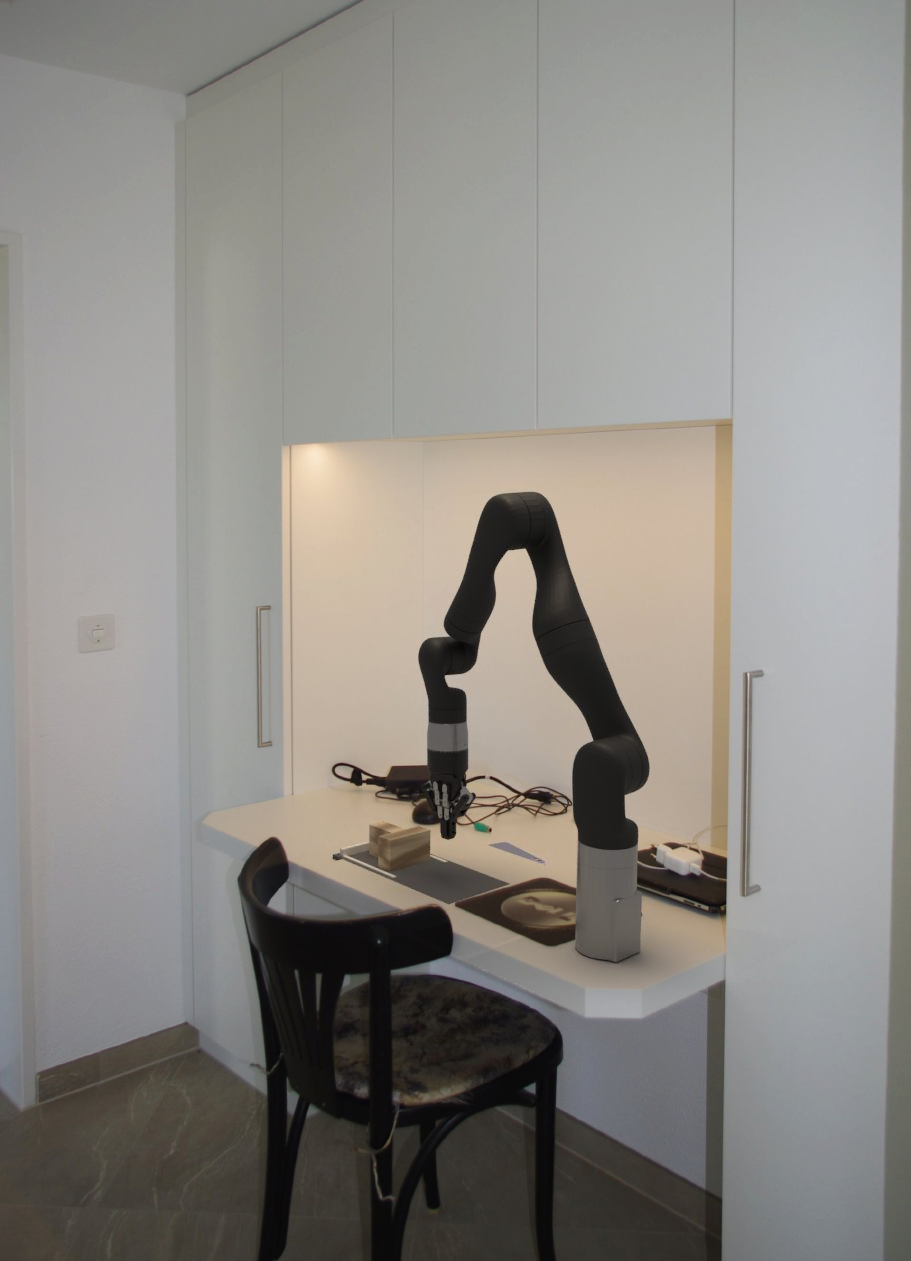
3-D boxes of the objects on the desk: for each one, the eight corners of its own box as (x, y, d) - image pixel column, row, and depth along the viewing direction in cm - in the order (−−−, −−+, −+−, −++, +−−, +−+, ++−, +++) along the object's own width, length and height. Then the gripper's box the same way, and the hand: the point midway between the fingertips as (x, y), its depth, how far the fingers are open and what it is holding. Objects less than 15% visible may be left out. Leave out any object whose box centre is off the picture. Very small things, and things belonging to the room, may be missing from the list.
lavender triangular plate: (506, 840, 206) (548, 861, 193) (506, 844, 206) (548, 866, 193) (475, 845, 202) (516, 867, 189) (474, 850, 202) (515, 872, 190)
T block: (430, 860, 193) (430, 830, 192) (389, 871, 186) (390, 840, 185) (395, 847, 200) (396, 818, 200) (356, 857, 194) (356, 827, 193)
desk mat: (509, 888, 180) (510, 875, 180) (448, 908, 170) (448, 895, 170) (392, 843, 205) (392, 832, 205) (332, 858, 195) (332, 847, 195)
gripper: (487, 747, 179) (487, 841, 181) (438, 737, 189) (439, 826, 190) (457, 754, 174) (457, 850, 176) (408, 743, 184) (409, 834, 185)
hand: (448, 838), depth 183 cm, fingers closed
